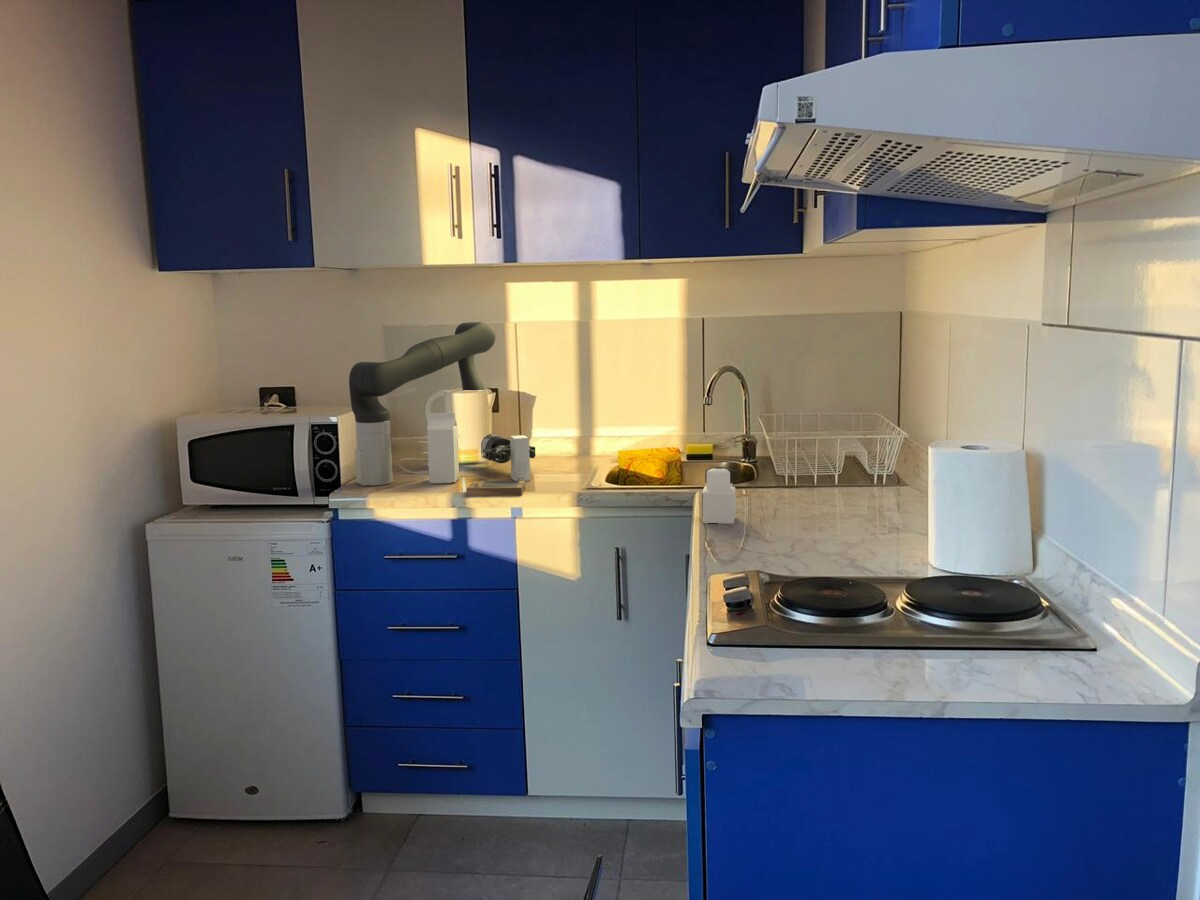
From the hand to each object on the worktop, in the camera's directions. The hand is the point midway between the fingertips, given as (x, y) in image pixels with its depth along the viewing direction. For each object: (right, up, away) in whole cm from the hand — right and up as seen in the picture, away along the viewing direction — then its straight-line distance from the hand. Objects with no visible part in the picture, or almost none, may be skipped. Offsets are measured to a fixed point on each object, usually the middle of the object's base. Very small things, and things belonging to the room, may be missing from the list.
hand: (519, 455), depth 290 cm
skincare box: (0, -7, +1) cm, 7 cm away
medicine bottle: (+49, -14, -54) cm, 74 cm away
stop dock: (-4, -9, -13) cm, 16 cm away
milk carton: (-21, -7, 0) cm, 22 cm away
